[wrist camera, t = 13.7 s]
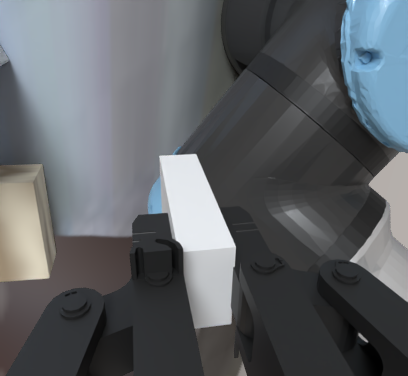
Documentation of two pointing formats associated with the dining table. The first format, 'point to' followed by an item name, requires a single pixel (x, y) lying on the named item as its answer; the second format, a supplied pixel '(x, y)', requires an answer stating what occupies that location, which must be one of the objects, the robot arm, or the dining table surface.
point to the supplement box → (3, 57)
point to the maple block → (25, 224)
